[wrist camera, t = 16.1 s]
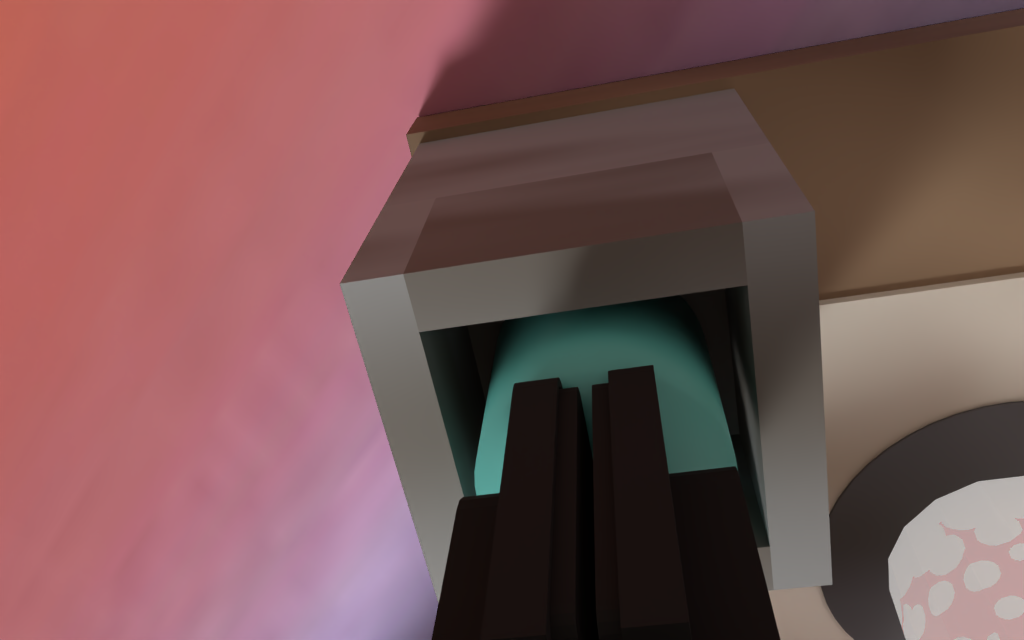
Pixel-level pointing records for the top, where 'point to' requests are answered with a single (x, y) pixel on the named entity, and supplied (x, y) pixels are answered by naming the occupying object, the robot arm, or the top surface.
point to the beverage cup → (963, 565)
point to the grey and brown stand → (738, 282)
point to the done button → (586, 361)
